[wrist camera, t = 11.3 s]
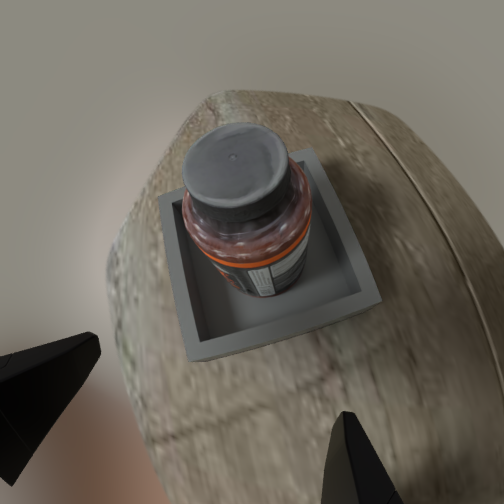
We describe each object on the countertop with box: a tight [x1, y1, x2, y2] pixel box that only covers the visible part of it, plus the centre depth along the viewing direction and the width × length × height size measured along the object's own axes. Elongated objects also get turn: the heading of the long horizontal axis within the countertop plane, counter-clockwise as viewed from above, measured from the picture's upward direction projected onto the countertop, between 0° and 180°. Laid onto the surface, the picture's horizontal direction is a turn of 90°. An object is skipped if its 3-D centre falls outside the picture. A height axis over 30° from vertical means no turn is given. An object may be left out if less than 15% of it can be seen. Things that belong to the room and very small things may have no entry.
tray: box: [158, 147, 382, 362], centre depth 20 cm, size 12×12×4 cm
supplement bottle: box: [182, 122, 312, 298], centre depth 15 cm, size 6×6×11 cm
